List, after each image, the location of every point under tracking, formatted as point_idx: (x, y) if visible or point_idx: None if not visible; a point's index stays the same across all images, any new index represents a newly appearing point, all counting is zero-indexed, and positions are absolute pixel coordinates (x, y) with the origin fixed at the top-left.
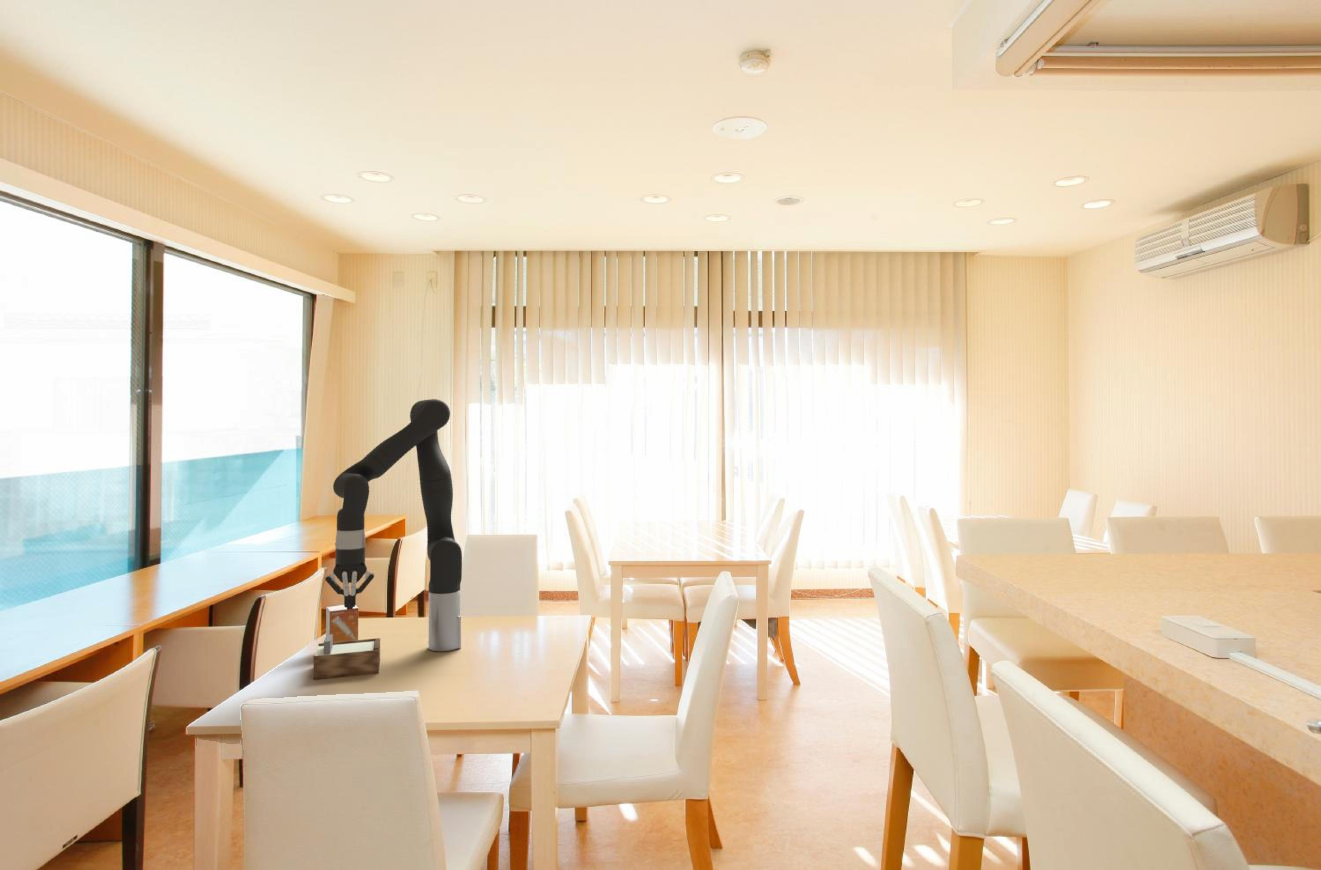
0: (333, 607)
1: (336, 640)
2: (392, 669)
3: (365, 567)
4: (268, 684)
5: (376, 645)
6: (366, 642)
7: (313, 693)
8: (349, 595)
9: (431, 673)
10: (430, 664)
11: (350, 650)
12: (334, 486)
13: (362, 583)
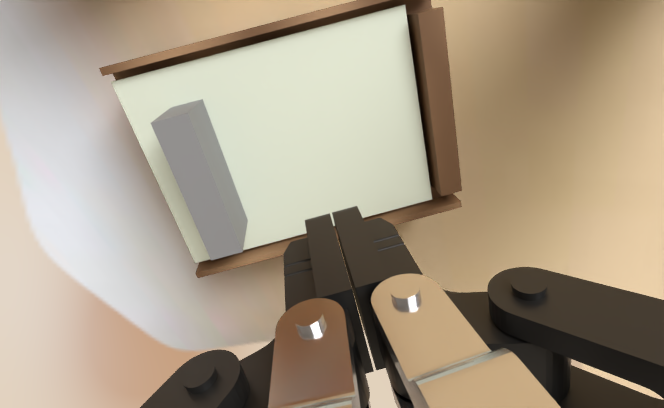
0: None
1: None
2: (469, 134)
3: None
4: (71, 265)
5: (445, 153)
6: (366, 30)
7: (273, 333)
8: (358, 336)
9: (598, 185)
10: (604, 85)
11: (323, 172)
12: None
13: (640, 381)
